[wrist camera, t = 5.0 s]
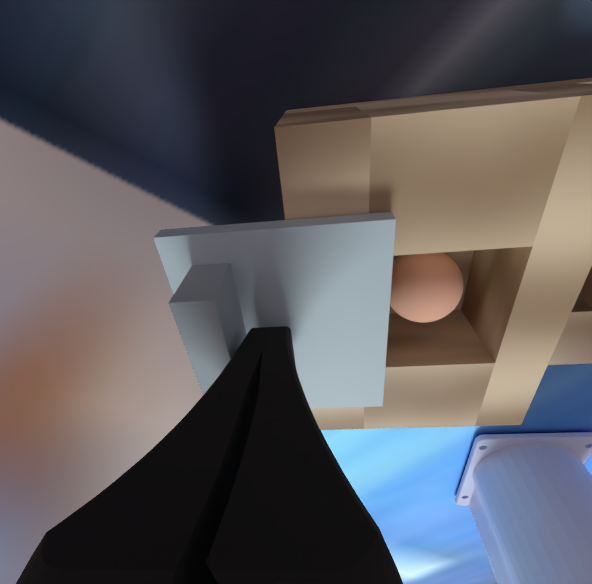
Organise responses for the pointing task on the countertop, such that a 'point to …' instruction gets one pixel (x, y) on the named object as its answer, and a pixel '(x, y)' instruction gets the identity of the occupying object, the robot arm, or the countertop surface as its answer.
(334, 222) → the lid
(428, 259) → the ball
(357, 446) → the countertop surface
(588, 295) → the walnut block
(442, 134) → the puzzle board
